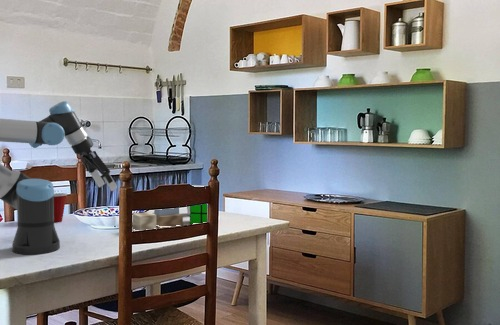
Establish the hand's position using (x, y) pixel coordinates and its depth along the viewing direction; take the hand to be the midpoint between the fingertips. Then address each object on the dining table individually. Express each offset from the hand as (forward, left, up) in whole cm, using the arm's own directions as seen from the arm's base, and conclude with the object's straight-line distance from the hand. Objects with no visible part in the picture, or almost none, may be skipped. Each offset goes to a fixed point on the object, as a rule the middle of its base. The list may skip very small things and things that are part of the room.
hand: (108, 187), depth 216 cm
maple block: (+13, -5, -18) cm, 23 cm away
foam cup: (+48, +18, -18) cm, 54 cm away
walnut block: (+26, +2, -18) cm, 32 cm away
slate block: (+26, +2, -13) cm, 29 cm away
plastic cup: (-12, +32, -18) cm, 39 cm away
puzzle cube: (+42, -1, -18) cm, 46 cm away
